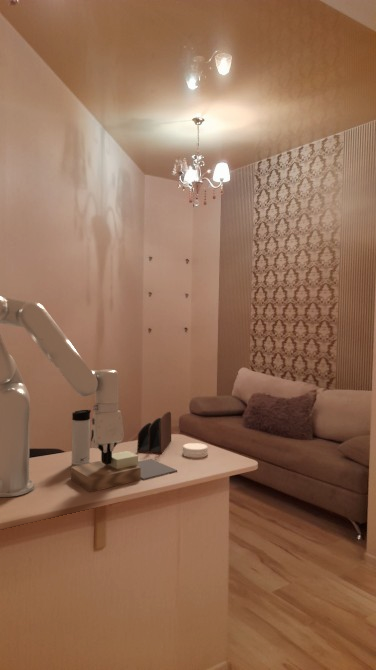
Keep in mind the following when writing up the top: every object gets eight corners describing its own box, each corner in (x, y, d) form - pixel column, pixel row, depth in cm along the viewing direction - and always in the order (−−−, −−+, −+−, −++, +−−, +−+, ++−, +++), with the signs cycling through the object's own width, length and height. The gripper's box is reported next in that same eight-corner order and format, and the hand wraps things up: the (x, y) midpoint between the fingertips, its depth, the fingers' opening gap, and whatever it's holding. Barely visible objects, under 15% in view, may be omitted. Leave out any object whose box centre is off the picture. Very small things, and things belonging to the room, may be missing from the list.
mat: (143, 480, 145) (143, 478, 145) (118, 467, 157) (118, 465, 157) (177, 471, 154) (177, 470, 154) (150, 460, 166) (150, 458, 166)
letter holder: (171, 441, 194) (172, 409, 193) (161, 454, 174) (161, 419, 174) (149, 440, 195) (149, 408, 195) (136, 453, 176) (137, 417, 175)
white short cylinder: (178, 452, 177) (178, 444, 177) (199, 449, 182) (199, 441, 182) (190, 459, 168) (190, 450, 168) (212, 456, 173) (212, 447, 173)
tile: (116, 469, 143) (116, 459, 143) (106, 463, 149) (106, 454, 149) (137, 464, 148) (138, 455, 148) (127, 459, 154) (127, 450, 154)
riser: (90, 492, 134) (90, 479, 134) (70, 479, 145) (70, 466, 145) (140, 479, 146) (140, 467, 145) (118, 468, 156) (118, 457, 156)
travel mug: (85, 468, 155) (86, 412, 155) (68, 467, 157) (69, 410, 156) (93, 463, 161) (93, 408, 161) (76, 461, 163) (77, 407, 162)
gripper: (91, 412, 137) (91, 471, 137) (132, 406, 146) (132, 461, 147) (80, 408, 143) (80, 464, 143) (120, 403, 152) (120, 456, 153)
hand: (106, 463), depth 145 cm, fingers closed
